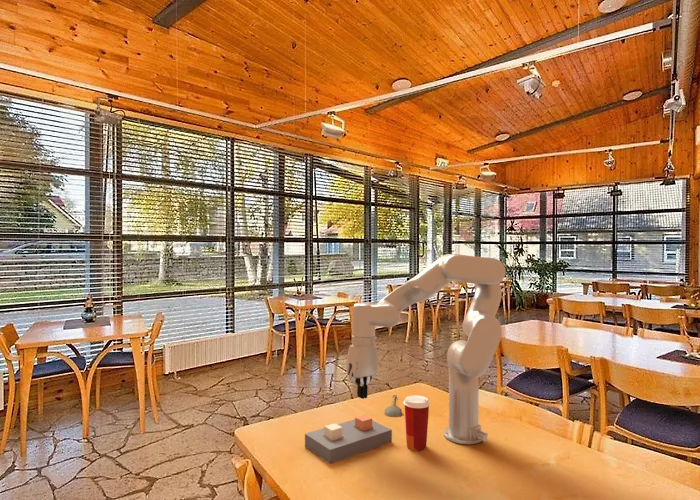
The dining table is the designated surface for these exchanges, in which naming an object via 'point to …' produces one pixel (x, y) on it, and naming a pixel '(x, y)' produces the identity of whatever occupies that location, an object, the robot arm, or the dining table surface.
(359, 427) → the peach square button
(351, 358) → the robot arm
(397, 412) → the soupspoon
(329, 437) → the cream cube block
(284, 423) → the dining table surface
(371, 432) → the button panel
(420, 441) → the coffee cup
